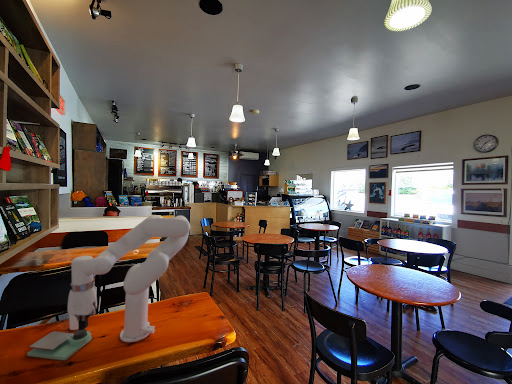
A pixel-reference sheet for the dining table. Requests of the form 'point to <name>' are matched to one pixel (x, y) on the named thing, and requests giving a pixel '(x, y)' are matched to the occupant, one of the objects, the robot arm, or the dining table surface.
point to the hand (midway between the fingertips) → (83, 328)
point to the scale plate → (51, 340)
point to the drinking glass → (73, 322)
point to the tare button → (80, 334)
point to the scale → (62, 349)
